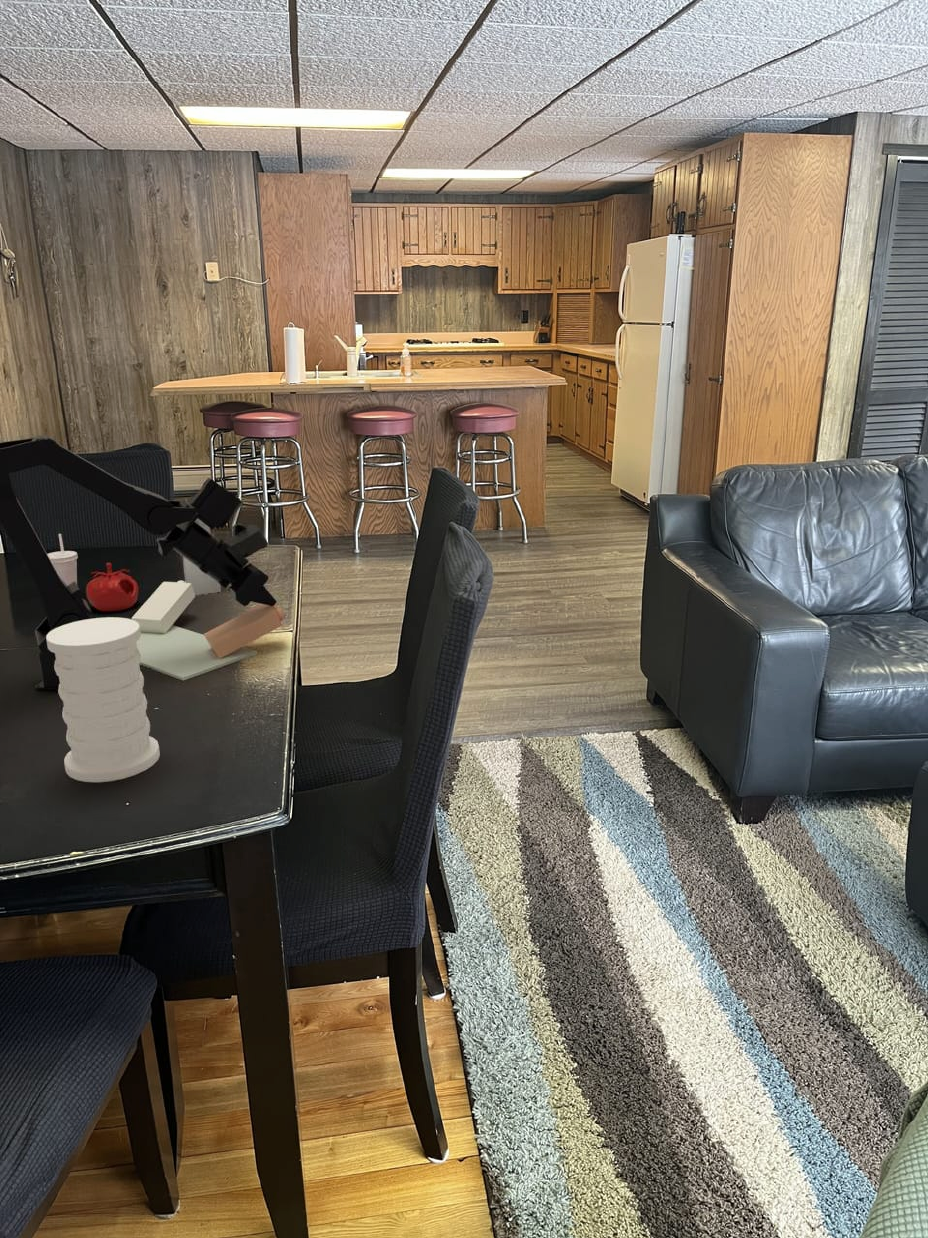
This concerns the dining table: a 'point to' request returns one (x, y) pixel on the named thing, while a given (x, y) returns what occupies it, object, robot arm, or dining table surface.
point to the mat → (183, 653)
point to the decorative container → (103, 699)
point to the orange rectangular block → (244, 629)
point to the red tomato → (112, 591)
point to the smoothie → (65, 563)
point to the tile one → (164, 606)
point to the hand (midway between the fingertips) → (274, 603)
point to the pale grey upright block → (199, 579)
